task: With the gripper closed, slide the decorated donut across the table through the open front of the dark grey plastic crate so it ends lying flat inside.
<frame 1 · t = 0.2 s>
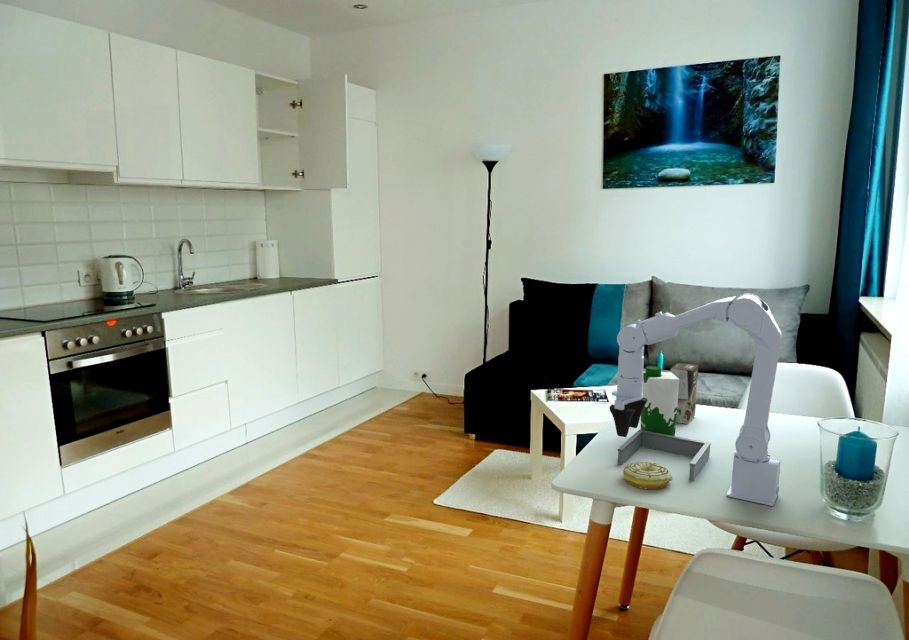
hand: (627, 431, 161), 10 cm above the table, tool pointing down, fingers open, 7 cm apart
milk carton: (657, 440, 185), on the table
decorated donut: (646, 483, 157), on the table
coffee box: (681, 419, 203), on the table
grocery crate: (663, 462, 168), on the table
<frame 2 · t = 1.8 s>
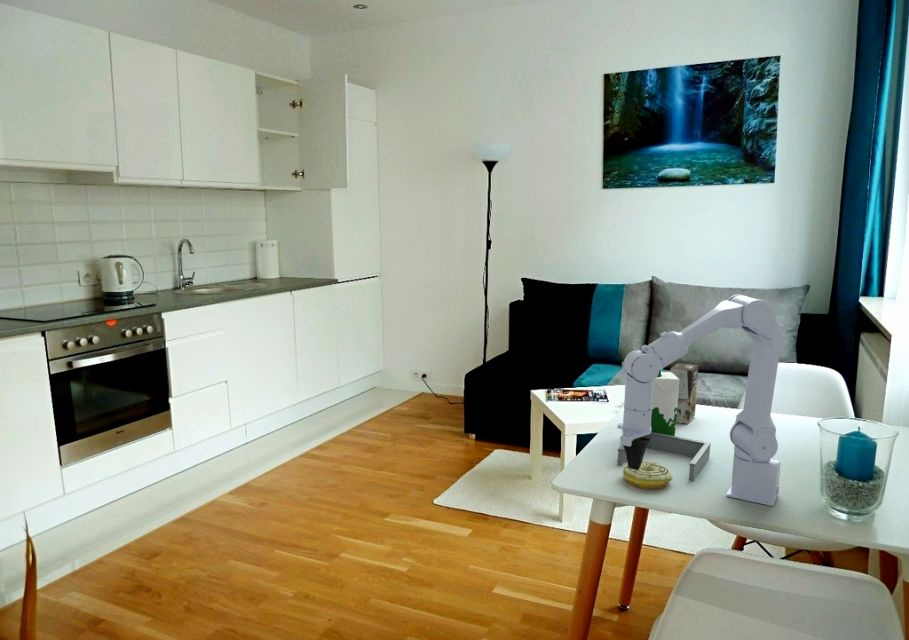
hand: (634, 468, 147), 7 cm above the table, tool pointing down, fingers closed
nothing on the table moved.
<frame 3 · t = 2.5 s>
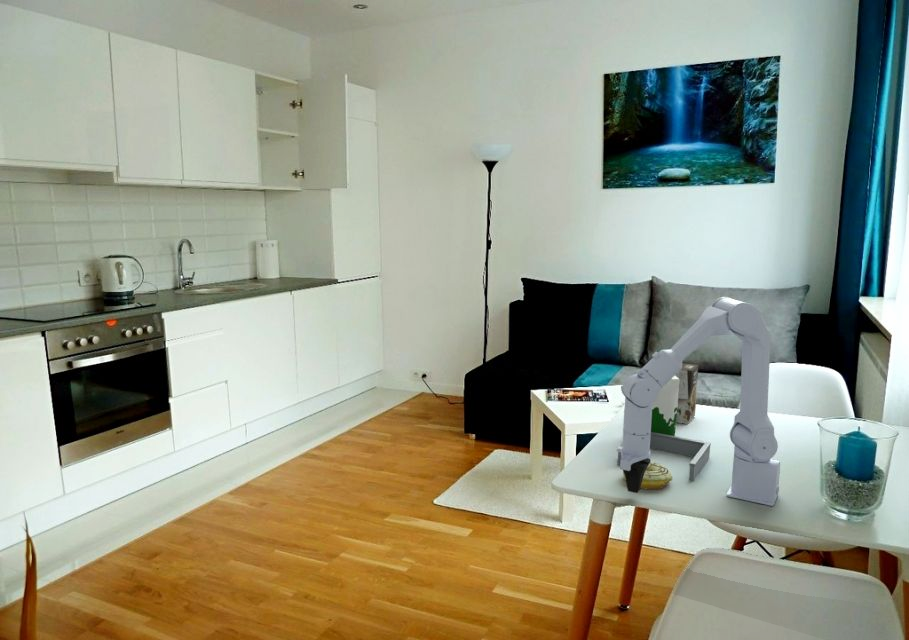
hand: (633, 491, 148), 1 cm above the table, tool pointing down, fingers closed
nothing on the table moved.
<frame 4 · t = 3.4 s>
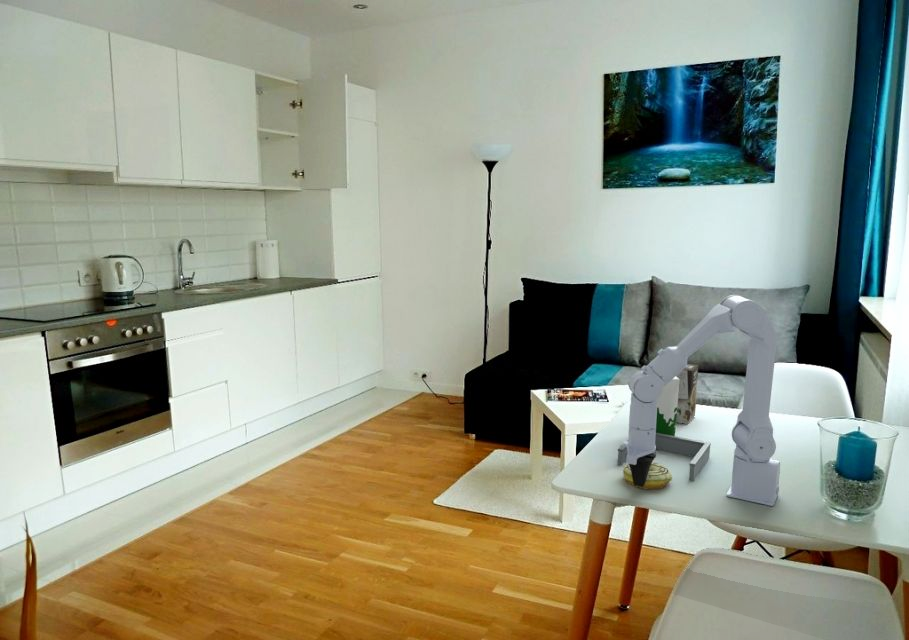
hand: (639, 485, 151), 1 cm above the table, tool pointing down, fingers closed
decorated donut: (646, 483, 157), on the table, touching gripper
everything else where it was.
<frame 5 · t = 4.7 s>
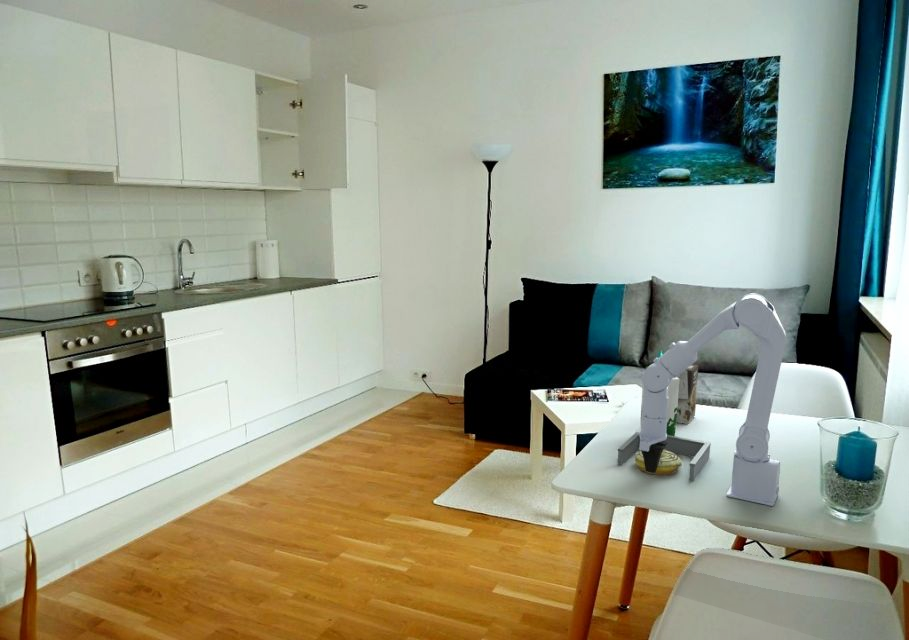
hand: (650, 471, 159), 1 cm above the table, tool pointing down, fingers closed
decorated donut: (657, 469, 165), on the table, touching gripper
everything else where it was.
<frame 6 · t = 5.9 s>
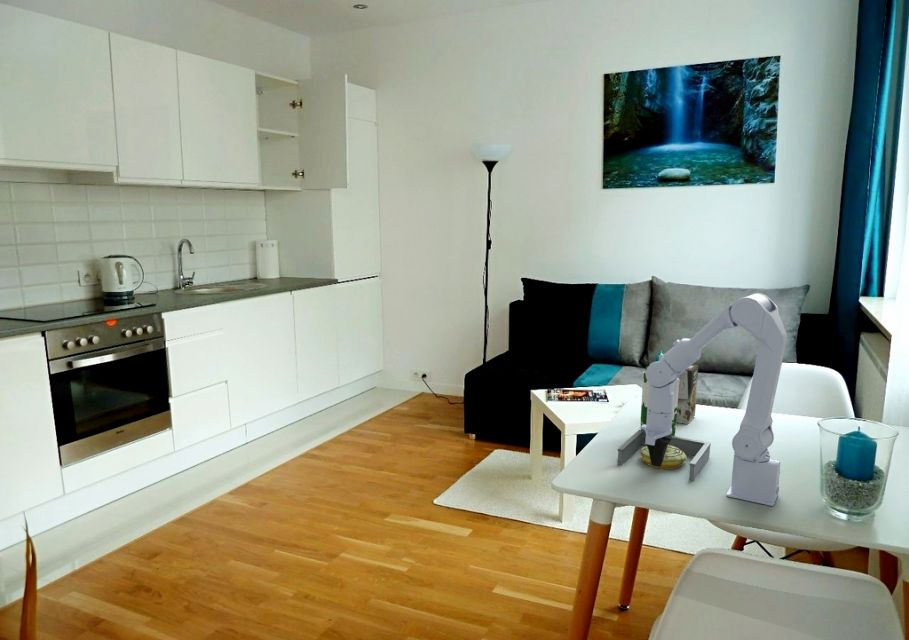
hand: (656, 465, 163), 1 cm above the table, tool pointing down, fingers closed
decorated donut: (662, 464, 168), on the table, touching gripper
everything else where it was.
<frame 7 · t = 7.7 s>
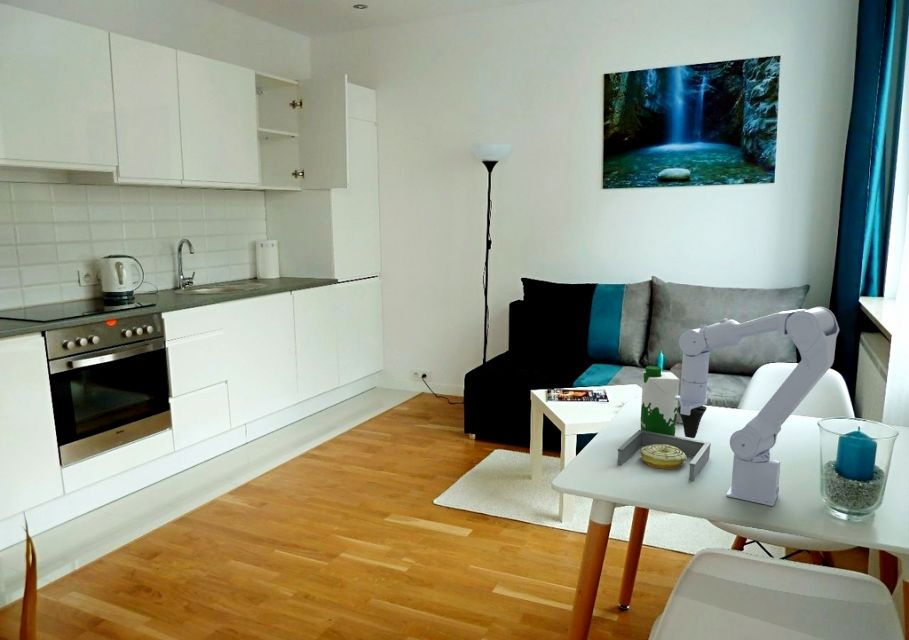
hand: (690, 436, 159), 9 cm above the table, tool pointing down, fingers closed
decorated donut: (662, 464, 168), on the table
everything else where it was.
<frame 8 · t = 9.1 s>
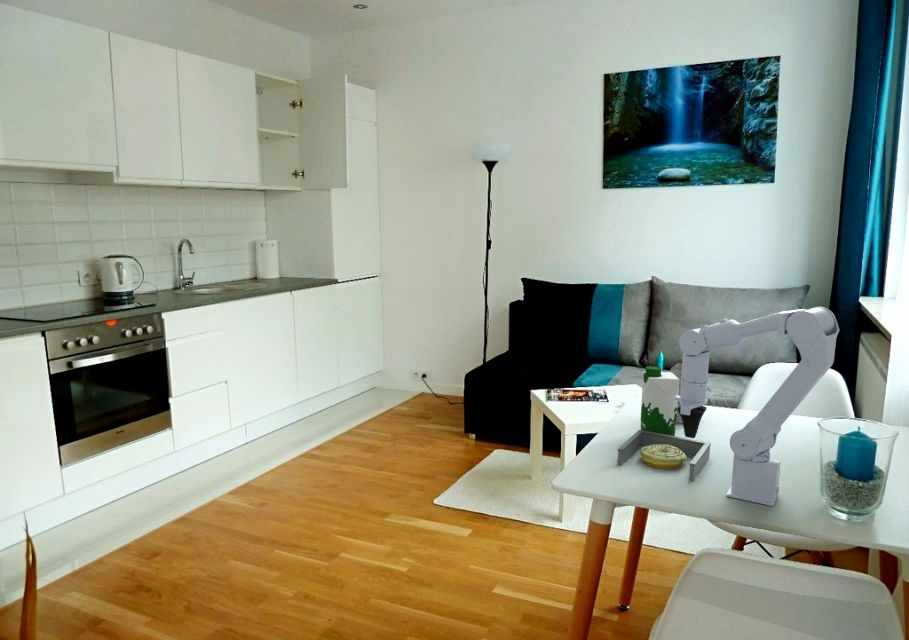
hand: (690, 436, 159), 9 cm above the table, tool pointing down, fingers closed
nothing on the table moved.
at the end: decorated donut inside the target area (0.4 cm from its centre), on the table; decorated donut tilted 2° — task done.
